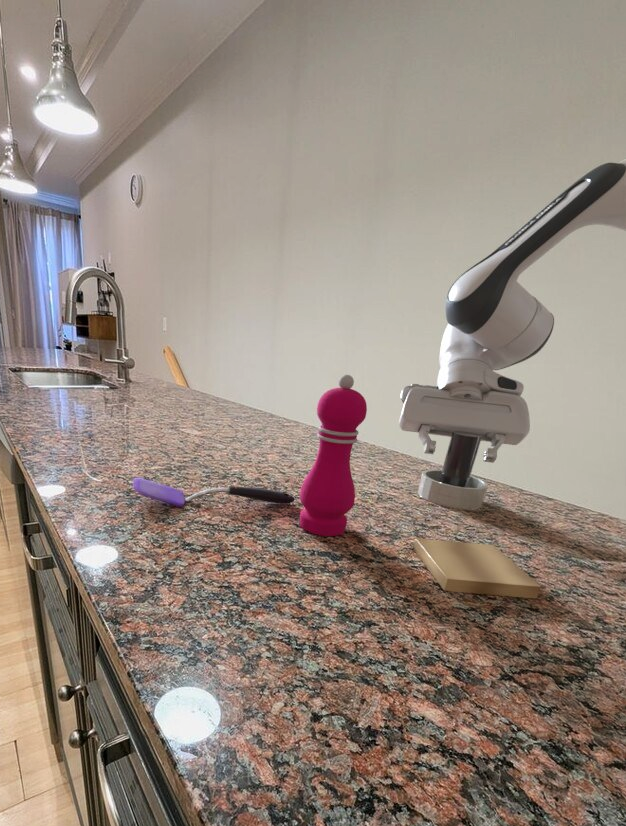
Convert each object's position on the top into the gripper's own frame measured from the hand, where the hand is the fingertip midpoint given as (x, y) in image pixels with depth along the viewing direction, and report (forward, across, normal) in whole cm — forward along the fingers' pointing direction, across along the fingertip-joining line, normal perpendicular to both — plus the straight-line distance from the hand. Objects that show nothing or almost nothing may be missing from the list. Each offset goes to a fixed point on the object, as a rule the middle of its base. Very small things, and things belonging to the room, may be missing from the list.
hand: (459, 456), depth 74 cm
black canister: (+6, 0, +4) cm, 7 cm away
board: (+25, -2, -14) cm, 29 cm away
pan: (+6, 0, +5) cm, 8 cm away
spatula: (+19, -36, -8) cm, 41 cm away
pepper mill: (+21, -20, -10) cm, 30 cm away
